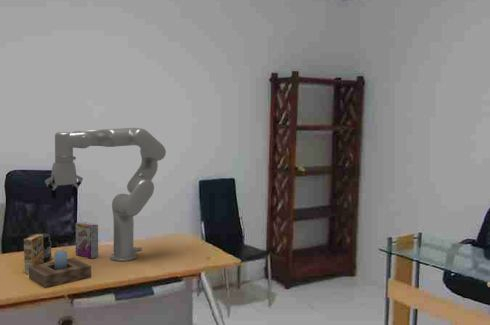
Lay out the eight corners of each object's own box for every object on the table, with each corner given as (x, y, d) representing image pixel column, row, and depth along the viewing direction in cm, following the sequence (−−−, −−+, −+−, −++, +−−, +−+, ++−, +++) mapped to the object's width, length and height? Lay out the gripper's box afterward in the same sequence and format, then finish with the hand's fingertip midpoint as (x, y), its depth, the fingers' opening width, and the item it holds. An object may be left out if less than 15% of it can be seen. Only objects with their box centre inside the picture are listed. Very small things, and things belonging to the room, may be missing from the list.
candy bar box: (74, 255, 244) (74, 222, 242) (82, 253, 248) (82, 221, 246) (90, 259, 238) (90, 226, 237) (98, 256, 242) (98, 224, 241)
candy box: (32, 273, 215) (32, 239, 213) (23, 273, 216) (23, 238, 214) (44, 267, 224) (43, 234, 222) (35, 267, 224) (35, 234, 223)
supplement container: (26, 258, 237) (26, 234, 235) (50, 256, 241) (49, 232, 240) (28, 264, 227) (27, 239, 226) (52, 262, 232) (52, 237, 231)
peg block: (73, 268, 223) (73, 257, 223) (91, 277, 212) (91, 265, 212) (28, 278, 209) (28, 266, 209) (45, 288, 198) (45, 275, 198)
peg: (64, 272, 214) (65, 250, 213) (68, 275, 210) (68, 253, 209) (52, 274, 211) (53, 251, 210) (56, 277, 207) (56, 254, 206)
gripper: (78, 158, 229) (78, 194, 230) (41, 159, 216) (41, 198, 218) (86, 159, 224) (86, 196, 225) (48, 161, 211) (49, 200, 213)
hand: (64, 197), depth 222 cm, fingers open, 9 cm apart
